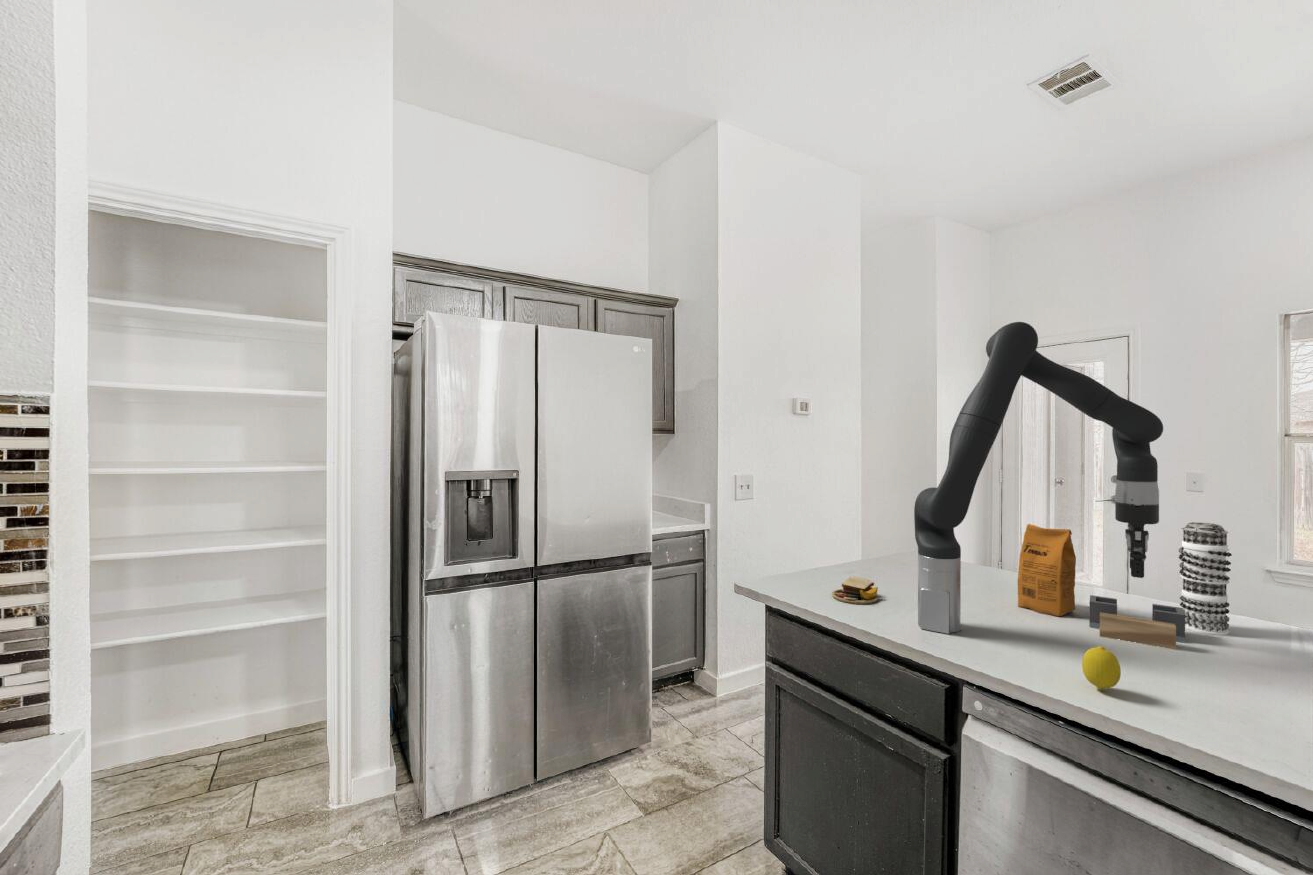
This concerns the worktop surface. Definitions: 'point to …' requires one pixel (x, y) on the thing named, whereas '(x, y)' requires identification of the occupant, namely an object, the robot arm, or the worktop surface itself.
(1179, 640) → the rail
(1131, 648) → the worktop surface
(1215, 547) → the decorative candle
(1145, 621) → the slat
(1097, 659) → the lemon
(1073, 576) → the coffee package
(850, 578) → the toy sandwich meal
